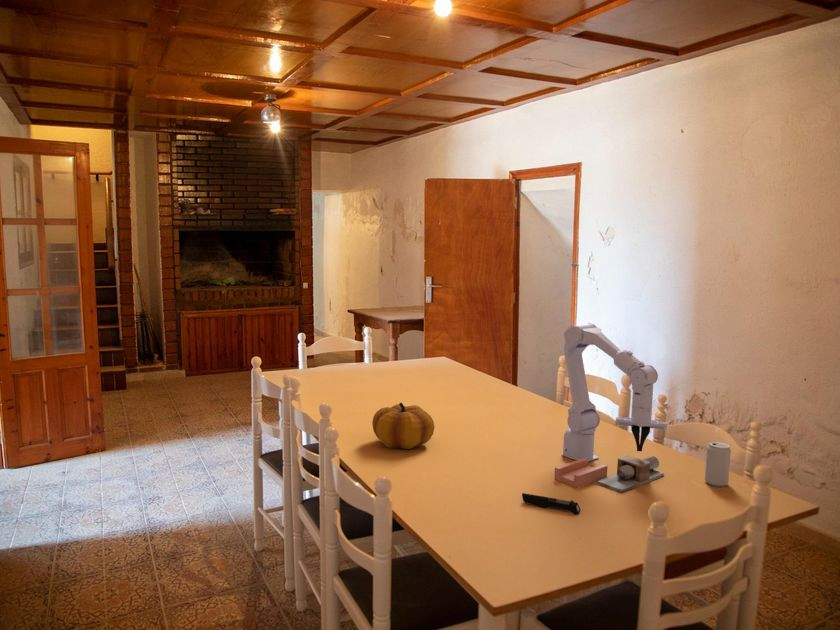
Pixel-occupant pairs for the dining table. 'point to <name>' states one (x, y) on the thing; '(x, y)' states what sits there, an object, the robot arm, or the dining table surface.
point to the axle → (630, 470)
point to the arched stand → (641, 477)
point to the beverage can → (717, 464)
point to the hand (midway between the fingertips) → (639, 450)
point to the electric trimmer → (551, 503)
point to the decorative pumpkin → (403, 426)
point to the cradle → (580, 473)
